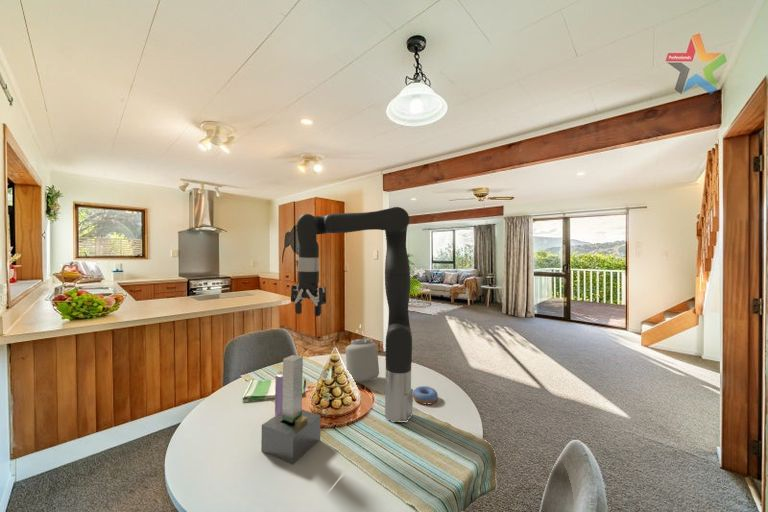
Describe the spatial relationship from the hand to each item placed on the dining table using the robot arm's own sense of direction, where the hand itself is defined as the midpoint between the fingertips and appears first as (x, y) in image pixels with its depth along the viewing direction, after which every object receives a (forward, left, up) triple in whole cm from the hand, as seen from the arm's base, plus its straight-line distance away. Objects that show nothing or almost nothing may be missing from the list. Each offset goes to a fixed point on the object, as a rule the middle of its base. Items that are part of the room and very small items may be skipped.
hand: (307, 314), depth 106 cm
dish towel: (+24, -9, -37) cm, 45 cm away
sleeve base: (-8, +16, -36) cm, 40 cm away
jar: (-2, -36, -36) cm, 51 cm away
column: (-8, +16, -27) cm, 33 cm away
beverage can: (+7, +4, -36) cm, 37 cm away
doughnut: (-35, -31, -37) cm, 59 cm away
